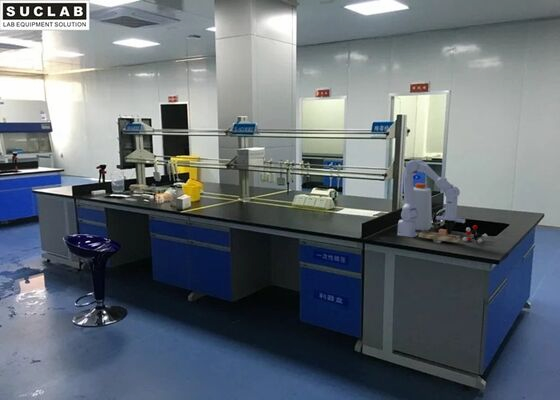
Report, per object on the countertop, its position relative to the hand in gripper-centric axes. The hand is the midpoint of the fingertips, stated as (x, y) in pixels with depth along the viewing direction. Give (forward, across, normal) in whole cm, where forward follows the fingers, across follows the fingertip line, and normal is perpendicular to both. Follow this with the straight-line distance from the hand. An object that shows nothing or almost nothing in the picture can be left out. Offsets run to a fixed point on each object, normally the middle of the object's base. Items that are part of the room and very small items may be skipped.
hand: (449, 234), depth 232 cm
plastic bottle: (+5, -25, +25) cm, 36 cm away
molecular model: (+5, +10, +12) cm, 16 cm away
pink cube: (+2, -3, 0) cm, 4 cm away
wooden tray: (+5, -5, 0) cm, 7 cm away
